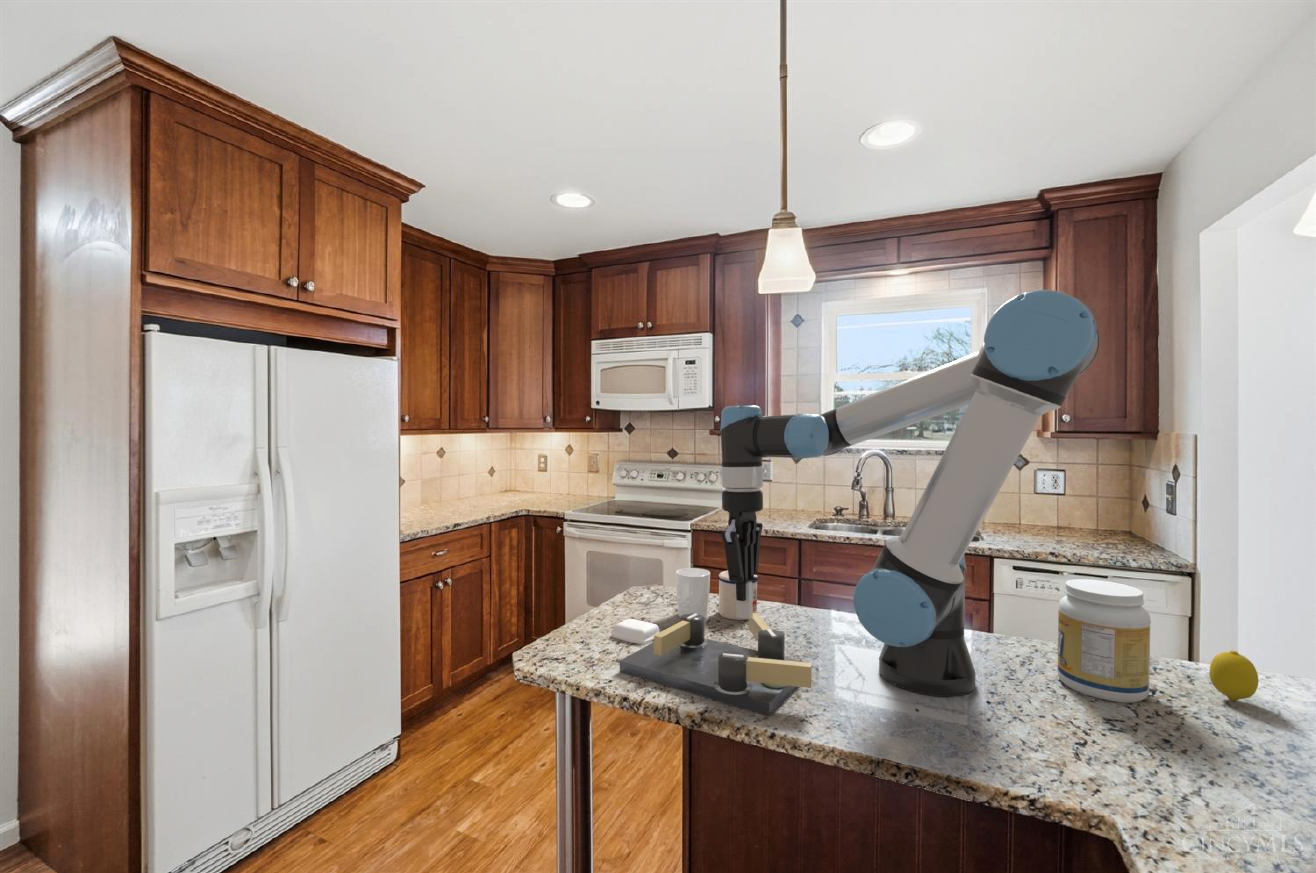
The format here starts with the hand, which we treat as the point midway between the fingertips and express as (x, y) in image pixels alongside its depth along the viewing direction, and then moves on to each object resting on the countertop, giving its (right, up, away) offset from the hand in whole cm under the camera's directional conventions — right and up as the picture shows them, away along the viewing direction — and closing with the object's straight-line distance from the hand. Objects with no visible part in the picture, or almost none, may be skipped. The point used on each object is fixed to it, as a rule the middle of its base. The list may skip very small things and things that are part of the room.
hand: (744, 616), depth 108 cm
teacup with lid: (+3, -8, +28) cm, 29 cm away
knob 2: (+3, -6, -1) cm, 7 cm away
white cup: (-8, -8, +25) cm, 28 cm away
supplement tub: (+58, -9, -11) cm, 59 cm away
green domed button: (+3, -6, -14) cm, 16 cm away
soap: (-21, -8, +12) cm, 25 cm away
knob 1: (-12, -6, -1) cm, 13 cm away
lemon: (+75, -9, -16) cm, 77 cm away
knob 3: (+1, -6, -17) cm, 18 cm away
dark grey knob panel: (-6, -8, -6) cm, 12 cm away
